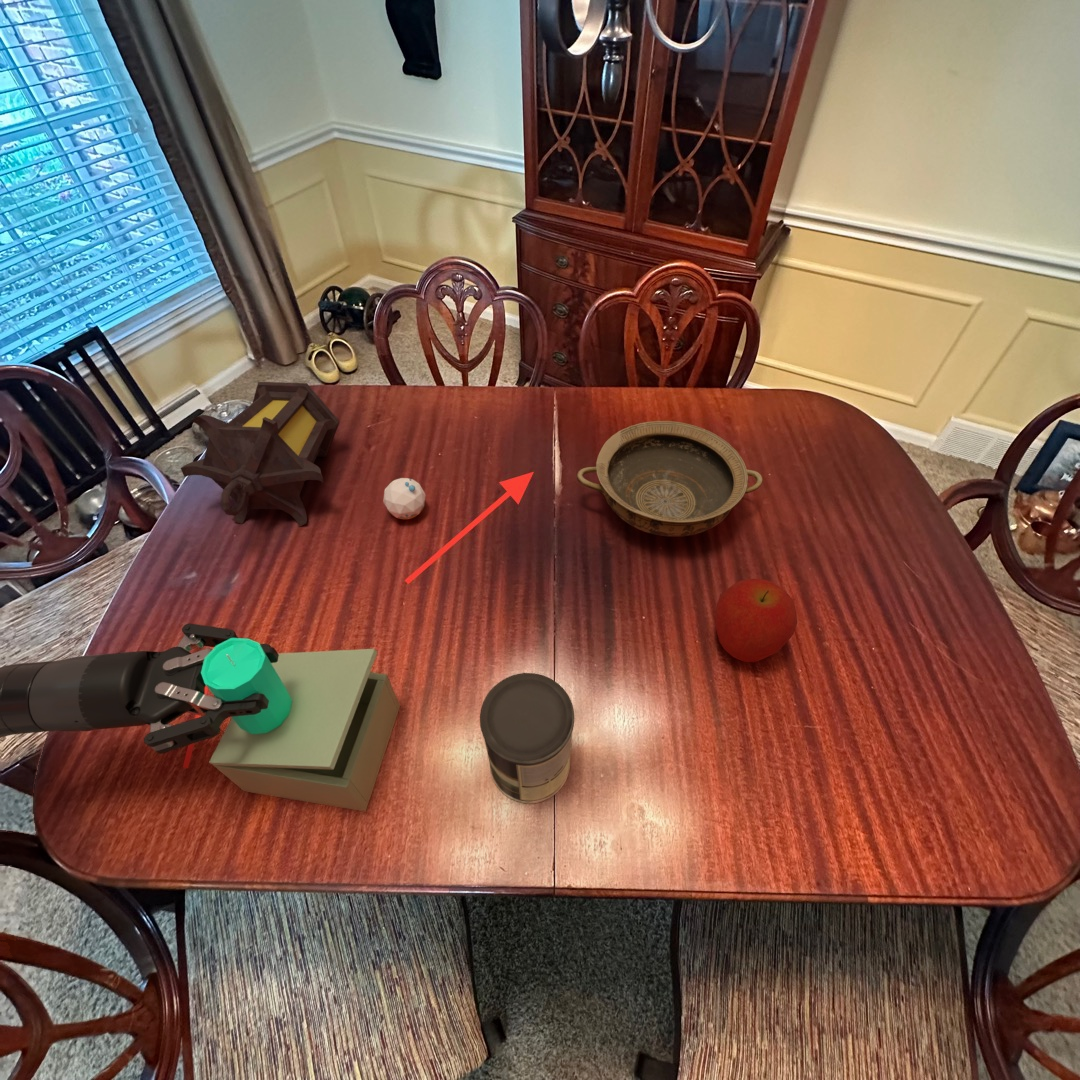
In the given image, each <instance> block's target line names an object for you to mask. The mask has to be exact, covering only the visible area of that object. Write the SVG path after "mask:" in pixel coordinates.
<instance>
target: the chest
mask: <svg viewBox="0 0 1080 1080" xmlns="http://www.w3.org/2000/svg"><path fill="white" fill-rule="evenodd" d="M400 708H401V703H400V702H399V699H398V697H397V695H396V692H395V690H394V688H393V686H392V684H391V680H390V678H389V676H388V674H386V673H379V672H372V671H370V674H369V677H368V679H367V682H366V685H365V687H364V690H363V693H362V695H361V698H360V701H359V703H358V706H357V709H356V711H355V714H354V717H353V719H352V722H351V724H350V727H349V730H348V732H347V735H346V738H345V740H344V743H343V746H342V748H341V751H340V754H339V756H338V759H337V762H336V764H335V767H334V769H333V770H331V769H304V768H277V767H249V766H222V765H212V766H213V767H214V768H216V769H217V770H218V771H219V772H220V773H221V774H223V775H224V776H225V777H226V778H228V779H229V780H230V781H231V782H232V783H234V784H235V785H236V786H237V787H238V788H239V789H240V790H242V791H243V792H245V793H252V794H258V795H262V796H263V795H264V796H270V797H276V798H281V799H282V798H283V799H286V800H288V799H289V800H292V801H300V802H306V803H311V804H317V805H323V806H329V807H335V808H341V809H346V810H352V811H358V812H364V813H365V812H367V810H368V806H369V803H370V800H371V796H372V794H373V791H374V788H375V784H376V782H377V778H378V775H379V773H380V769H381V766H382V764H383V760H384V757H385V754H386V751H387V747H388V745H389V742H390V740H391V739H390V738H391V735H392V732H393V729H394V726H395V723H396V720H397V718H398V714H399V711H400Z"/></svg>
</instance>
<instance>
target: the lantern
mask: <svg viewBox="0 0 1080 1080" xmlns="http://www.w3.org/2000/svg"><path fill="white" fill-rule="evenodd" d="M190 422H191V423H194V424H196V425H197V426H198V427H200V428H201V429H202V430H203V431H204V432H205V434H206V435H207V437H208V441H207V444H206V448H205V453H204V458H201V459H198V460H194V461H191V462H189V463H186V464H184V465H183V466H182V467H180V471H181V473H182V475H183V477H184V478H186V477H189V476H202V477H205V478H208V479H211V480H212V481H213V482H214V483H216V485H218V486H219V487H220V488H221V489H222V492H221V496H220V497H221V498H220V505H221V509H222V510H223V512H224V513H225V515H227V516H233V518H232V521H234V522H236V523H237V524H241V525H243V524H244V522H245V520H246V519H247V517H248V515H249V513H250V511H251V509H257V510H278V511H283V512H285V513H287V514H289V515H290V516H291V517H292V518H293V519H294V520H295V521H296V523H297V525H298V528H300V527H302V526H304V525H306V524H307V521H308V516H307V511H306V508H305V506H304V503H303V501H302V498H301V492H302V490H303V487H304V484H305V482H306V481H309V480H310V481H319V482H321V483H324V477H323V474H322V471H321V468H320V467H319V466H318V465H317V464H315V461H316V459H317V457H321V458H324V457H327V455H328V453H329V450H330V447H331V445H332V443H333V440H334V437H335V435H336V432H337V430H338V427H339V424H340V420H339V419H338V417H337V416H336V415H335V414H334V413H333V412H332V410H331V409H330V408H329V406H328V405H327V404H326V403H325V402H324V401H323V400H322V399H321V397H319V395H318V394H317V393H316V392H315V390H313V388H312V387H311V386H310V384H308V382H282V381H281V382H280V381H279V382H277V381H258V382H257V385H256V389H255V392H254V396H253V399H252V403H250V405H248V406H247V407H246V408H245V409H243V410H242V411H240V412H239V413H238V414H237V415H236V416H234V417H233V418H232V419H231V420H229V421H228V422H227V421H224V420H221V419H219V418H217V417H214V416H211V415H208V414H200V415H197V416H195V417H194V418H192V419H191V420H190ZM231 498H232V499H233V500H234V501H235V502H236V503H235V504H234V506H233V507H232V506H231Z"/></svg>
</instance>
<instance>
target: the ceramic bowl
mask: <svg viewBox="0 0 1080 1080" xmlns="http://www.w3.org/2000/svg"><path fill="white" fill-rule="evenodd" d="M588 473H596V475H597V479H598V481H599V483H595V482H592V481H590V480H588V479H586V478H585V477H584V475H586V474H588ZM749 477H753V478H754V479H755V480H756V482H755V484H753V485H752V486H749V487H748V485H749V484H748V481H749ZM576 479H577V481H578V482H579V483H580V485H583V486H584V487H587V488H589V489H591V490H594V491H597V492H600V493H601V494H602V495H603V496H604V498H605V500H606V502H607V504H608V506H609V507H610V508H611V510H612V511H613V513H615V514H616V515H617V516H618V517H619V518H620V519H621V520H622V521H624V522H625V523H626V524H628V525H630V526H631V527H633V528H635V529H637V530H640V531H641V532H645V533H647V534H651V535H655V536H661V537H669V538H670V537H672V538H673V537H677V538H679V537H689V536H695V535H699V534H701V533H704V532H706V531H708V530H710V529H712V528H714V527H716V526H717V525H719V524H720V523H721V522H723V521H724V520H725V519H726V517H727V516H728V515H729V514H730V512H731V510H732V509H733V508H734V507H735V506H736V505H737V504H738V503H739V502H740V501H741V500H742V499H743V498H744V496H745V495H746V494H750V493H752V492H755V491H757V490H758V489H759V488H760V487H762V484H763V480H764V479H763V477H762V475H761V473H759V472H758V471H756V470H753V469H747V465H746V463H745V461H744V459H743V458H742V456H741V455H740V454H739V452H738V451H737V450H736V449H735V448H734V447H733V446H732V445H731V444H730V443H729V442H728V441H726V440H725V439H724V438H722V437H720V436H719V435H717V434H716V433H714V432H712V431H710V430H708V429H705V428H703V427H701V426H697V425H693V424H691V423H687V422H681V421H673V420H654V421H653V420H652V421H645V422H640V423H636V424H633V425H629V426H628V427H625V428H623V429H621V430H618V431H617V432H615V433H614V434H613V435H611V436H610V437H609V438H608V439H607V440H606V441H605V442H604V444H603V446H602V447H601V448H600V451H599V453H598V455H597V459H596V461H595V466H588V467H584V468H581V469H579V470H578V472H577V474H576Z"/></svg>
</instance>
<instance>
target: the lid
mask: <svg viewBox="0 0 1080 1080" xmlns="http://www.w3.org/2000/svg"><path fill="white" fill-rule="evenodd" d="M277 653H278V654H279V657H278V661H277V662H276V663H271V664H272V665H273V667H274V669H275V671H276V672H277V674H278V676H279V677H280V679H281V681H282V682H283V684H284V686H285V688H286V689H287V691H288V693H289V695H290V697H291V700H292V704H291V709H290V714H289V715H288V716H287V718H286V719H285V720H284V721H283V723H282V724H281V725H280V726H278V727H277V728H275V729H273V730H271V731H269V732H267V733H261V734H250V733H248V732H247V731H245V730H243V729H241V728H240V727H239V726H238V725H237V723H236V722H235V721H234V720H233V718H232V717H230V720H229V722H228V723H227V726H226V728H225V730H224V732H223V734H222V735H221V738H220V740H219V742H218V743H217V746H216V748H215V750H214V751H213V753H212V756H211V757H210V759H209V761H208V763H209V764H210V765H212V766H213V765H222V766H249V767H277V768H304V769H331V770H333V769H334V767H335V764H336V762H337V759H338V756H339V754H340V751H341V748H342V746H343V743H344V740H345V738H346V735H347V732H348V730H349V727H350V724H351V722H352V719H353V717H354V714H355V711H356V709H357V706H358V703H359V701H360V698H361V695H362V693H363V690H364V687H365V685H366V682H367V679H368V677H369V674H370V672H372V668H373V667H374V663H375V661H376V658H377V655H378V651H377V649H375V648H360V649H359V648H357V649H341V650H340V649H339V650H337V649H336V650H319V651H318V650H317V651H298V652H281V653H279V652H277Z"/></svg>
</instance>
